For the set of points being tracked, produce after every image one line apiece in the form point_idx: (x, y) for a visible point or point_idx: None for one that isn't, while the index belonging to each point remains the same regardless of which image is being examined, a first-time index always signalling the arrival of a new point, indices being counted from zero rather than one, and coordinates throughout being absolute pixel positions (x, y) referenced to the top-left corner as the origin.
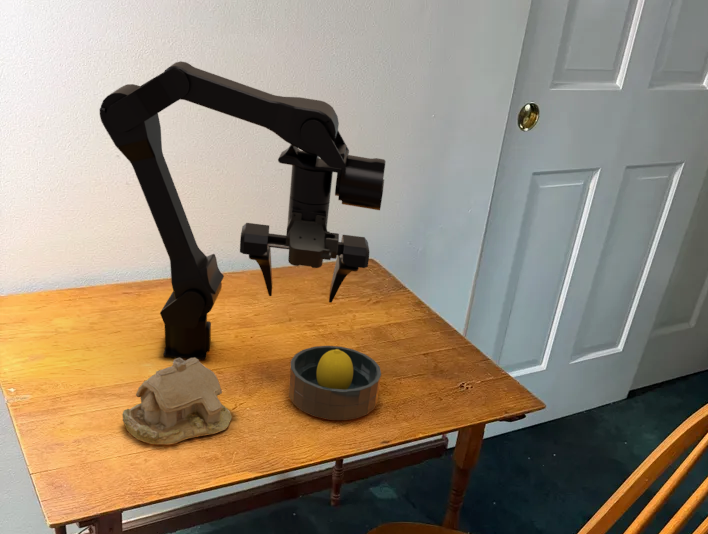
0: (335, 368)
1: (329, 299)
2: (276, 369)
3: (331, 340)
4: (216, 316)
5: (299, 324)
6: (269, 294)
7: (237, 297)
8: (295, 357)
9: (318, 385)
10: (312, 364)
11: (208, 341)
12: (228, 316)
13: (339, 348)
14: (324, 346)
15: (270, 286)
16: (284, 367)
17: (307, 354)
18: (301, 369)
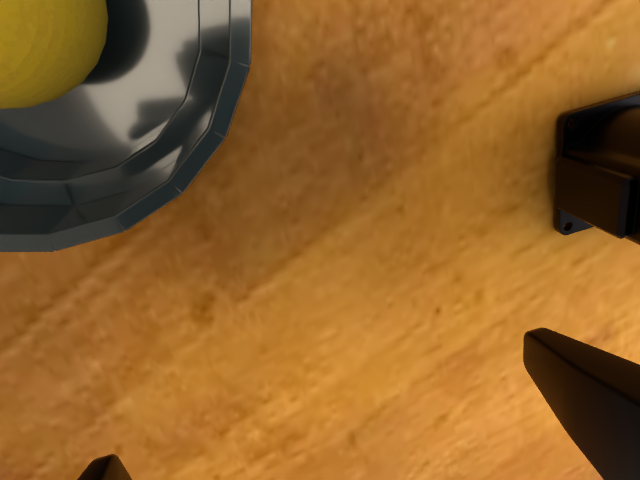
0: None
1: (103, 473)
2: (328, 156)
3: (207, 401)
4: None
5: (322, 432)
6: (547, 333)
7: (496, 465)
8: (238, 29)
9: (136, 76)
10: (178, 136)
11: (588, 165)
12: (509, 380)
13: (51, 231)
14: (133, 216)
15: (599, 370)
16: (305, 181)
17: (200, 133)
18: (210, 68)
